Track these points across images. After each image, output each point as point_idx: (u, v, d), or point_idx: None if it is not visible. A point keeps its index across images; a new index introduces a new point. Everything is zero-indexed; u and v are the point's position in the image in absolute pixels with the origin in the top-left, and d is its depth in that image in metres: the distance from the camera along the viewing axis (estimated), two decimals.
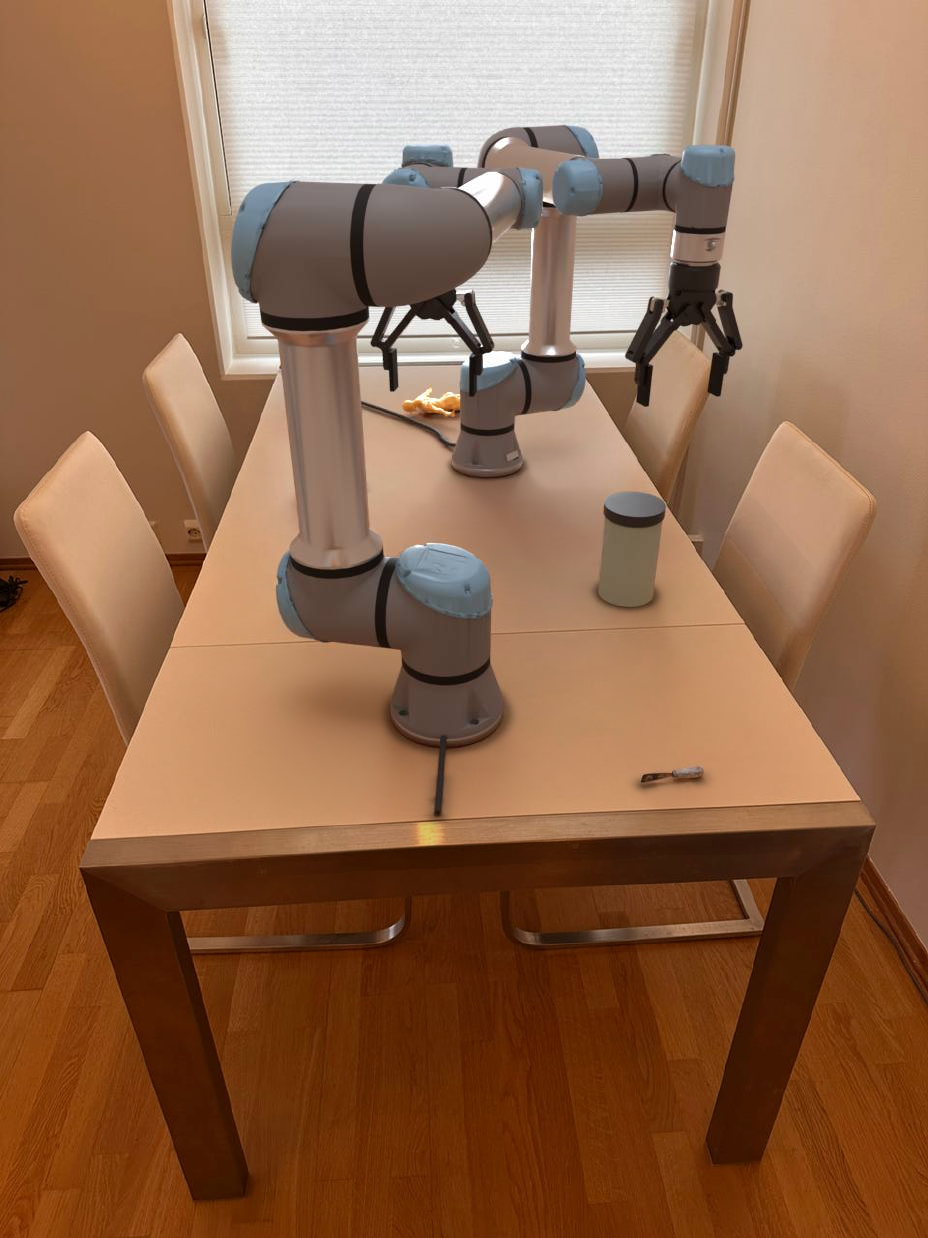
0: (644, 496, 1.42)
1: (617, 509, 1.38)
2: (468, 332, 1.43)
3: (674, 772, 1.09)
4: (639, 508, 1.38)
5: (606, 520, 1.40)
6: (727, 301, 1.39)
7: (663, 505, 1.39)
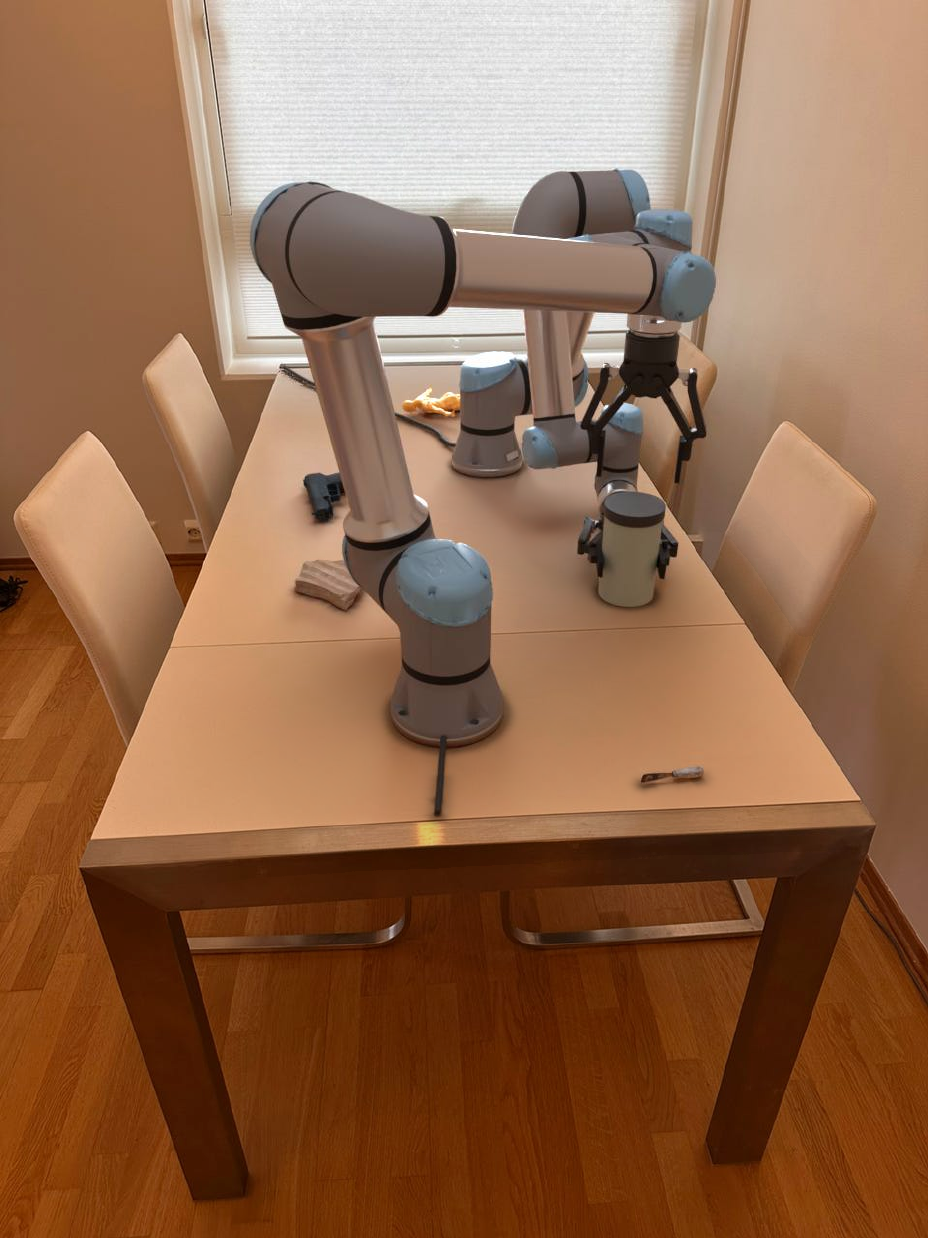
0: (644, 496, 1.42)
1: (617, 509, 1.38)
2: (607, 408, 1.33)
3: (674, 772, 1.09)
4: (639, 508, 1.38)
5: (606, 520, 1.40)
6: None
7: (663, 505, 1.39)
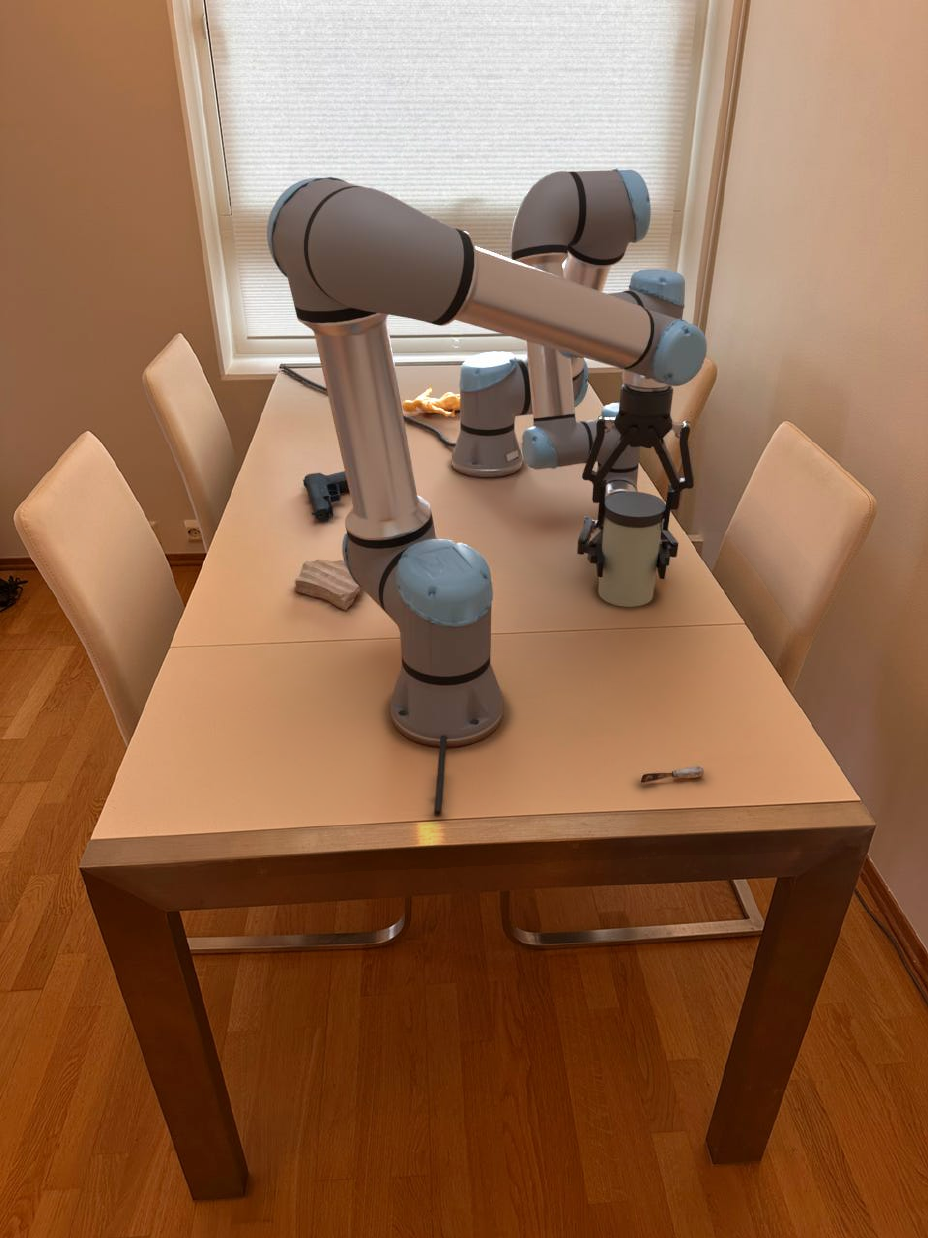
0: (644, 496, 1.42)
1: (617, 509, 1.38)
2: (606, 459, 1.37)
3: (674, 772, 1.09)
4: (639, 508, 1.38)
5: (606, 520, 1.40)
6: None
7: (663, 505, 1.39)
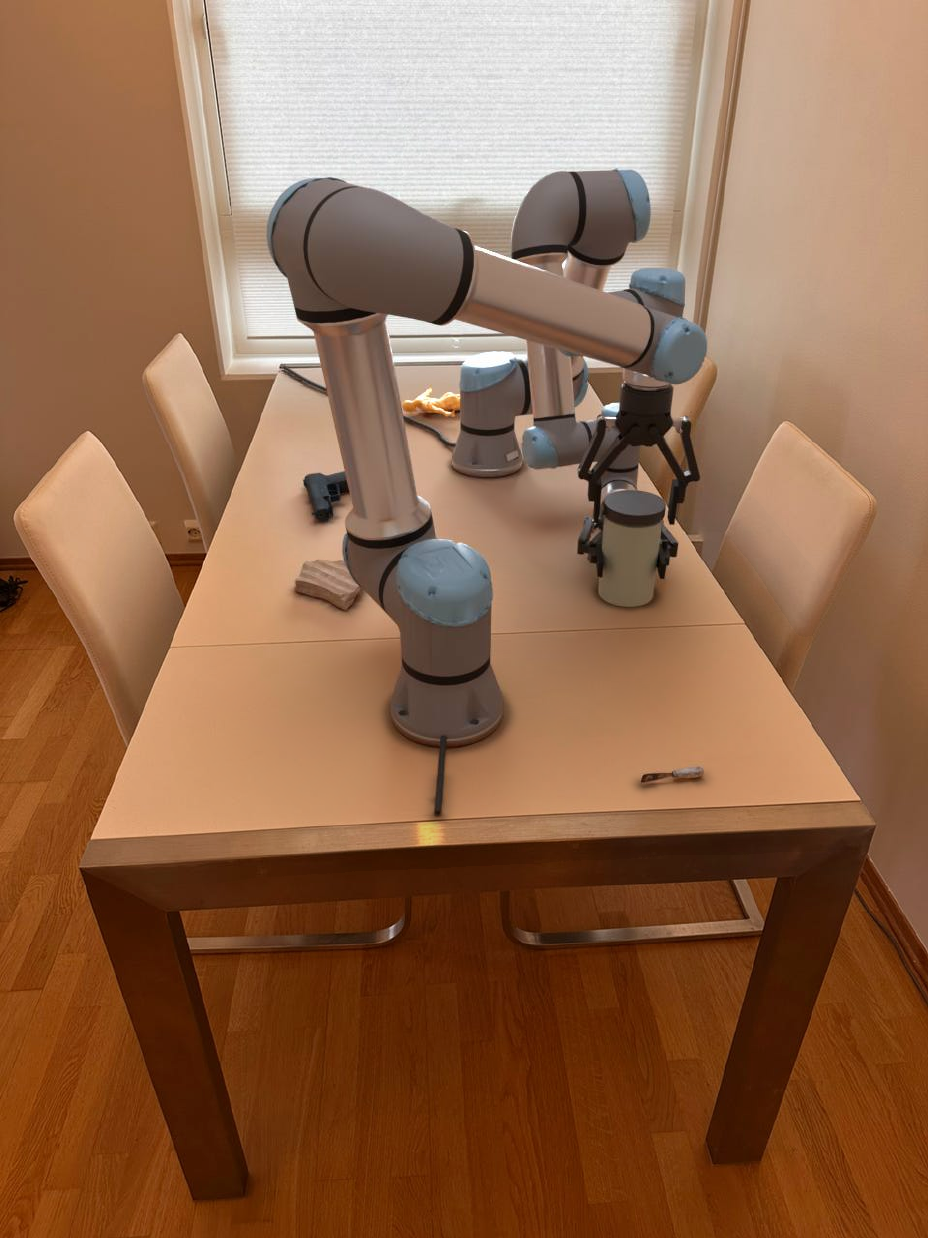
0: (615, 496, 1.41)
1: (650, 510, 1.37)
2: (603, 457, 1.36)
3: (674, 772, 1.09)
4: (645, 501, 1.40)
5: (606, 520, 1.40)
6: None
7: (635, 491, 1.43)
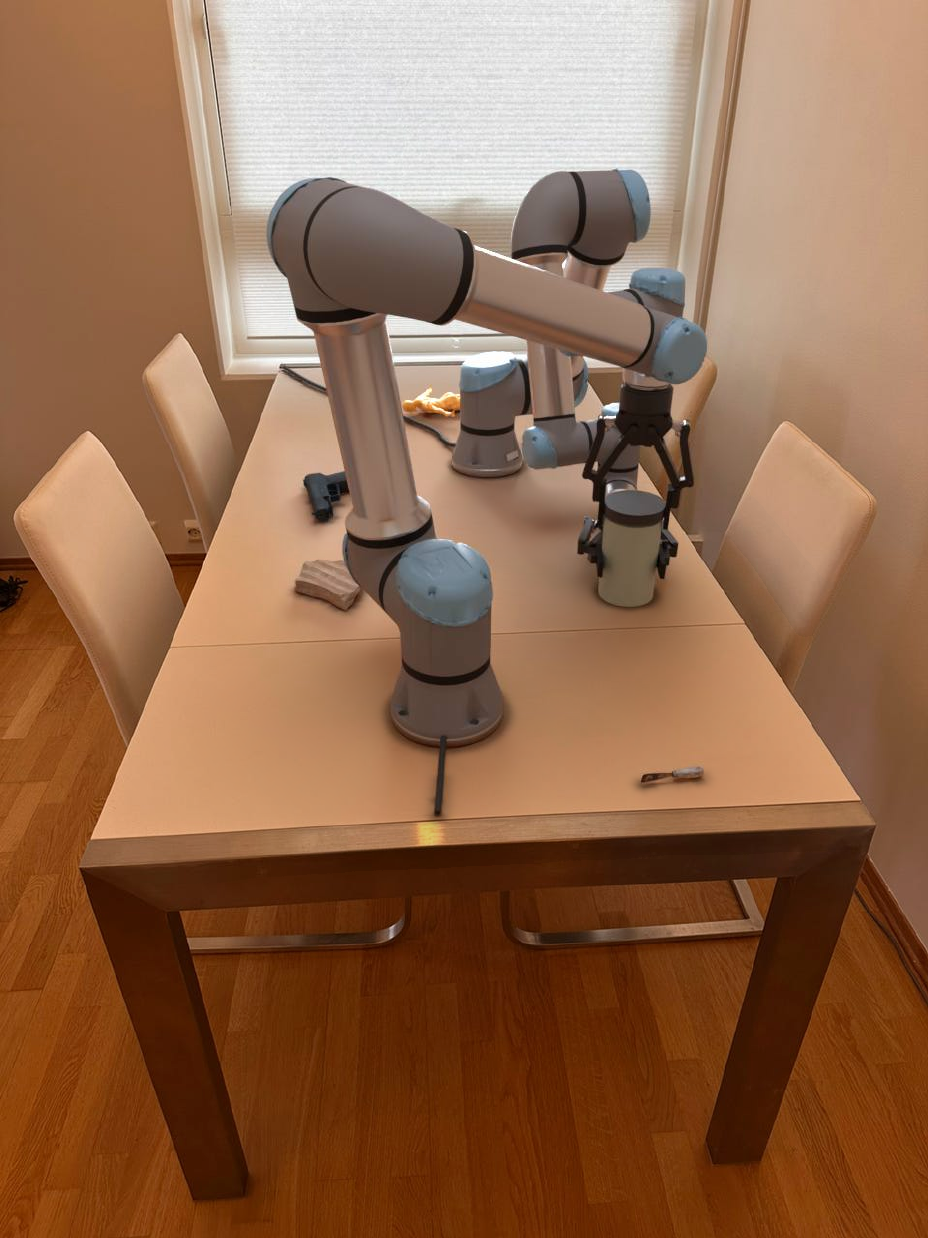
0: (615, 496, 1.41)
1: (650, 510, 1.37)
2: (606, 458, 1.37)
3: (674, 772, 1.09)
4: (645, 501, 1.40)
5: (606, 520, 1.40)
6: None
7: (635, 491, 1.43)
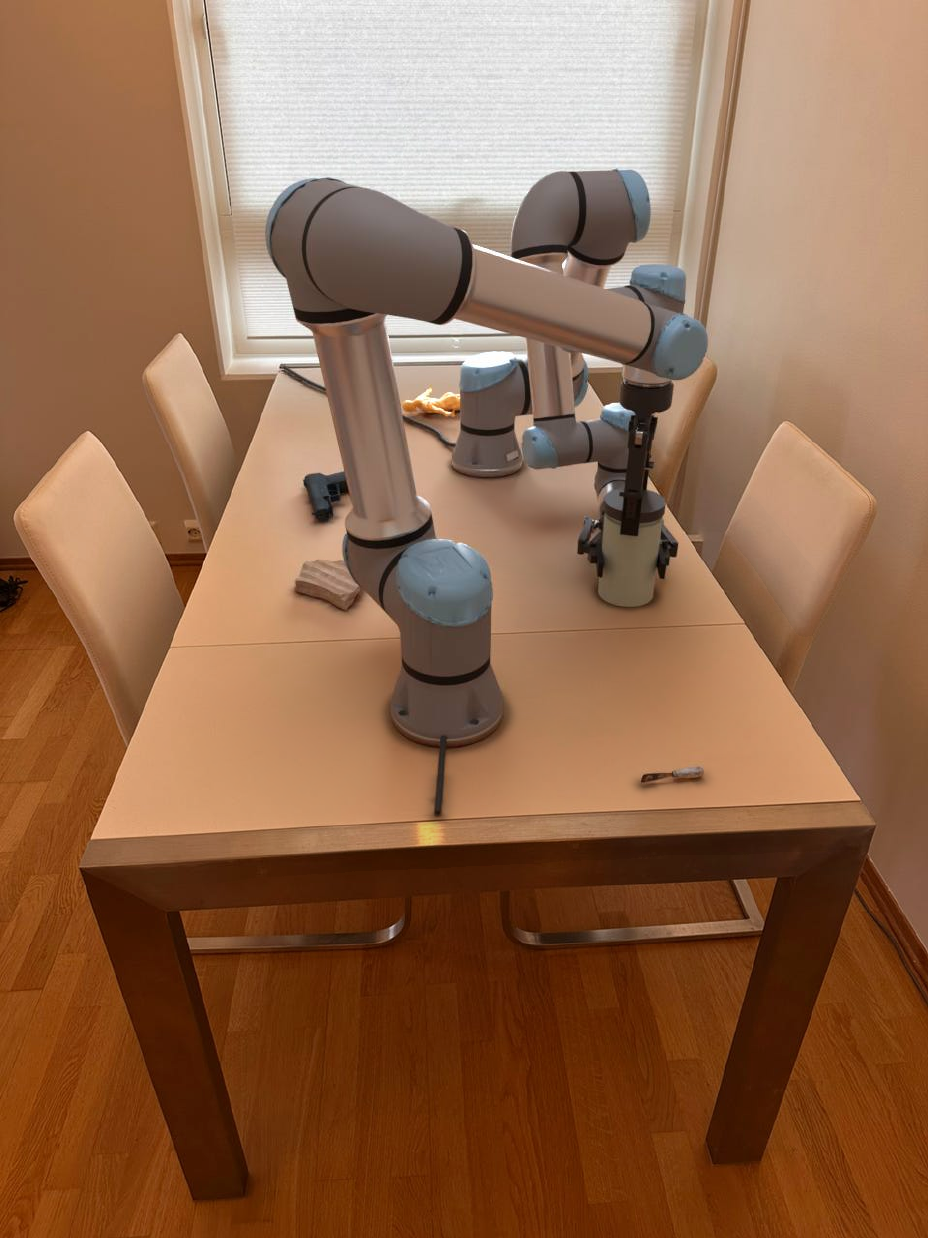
0: (622, 507, 1.37)
1: (653, 495, 1.40)
2: None
3: (674, 772, 1.09)
4: None
5: (606, 520, 1.40)
6: None
7: (606, 497, 1.40)
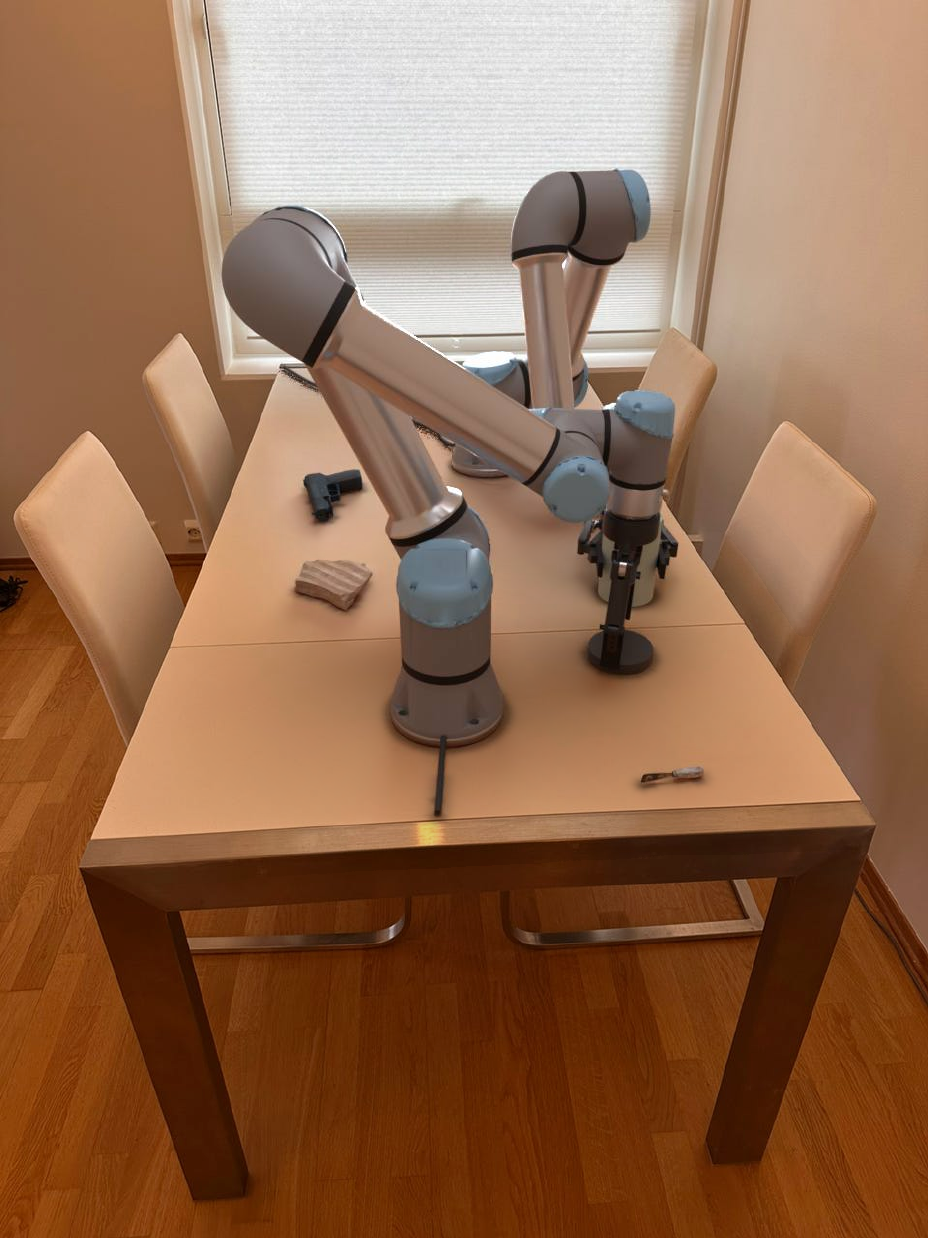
0: None
1: (640, 640, 1.33)
2: None
3: (674, 772, 1.09)
4: None
5: None
6: None
7: (591, 642, 1.32)
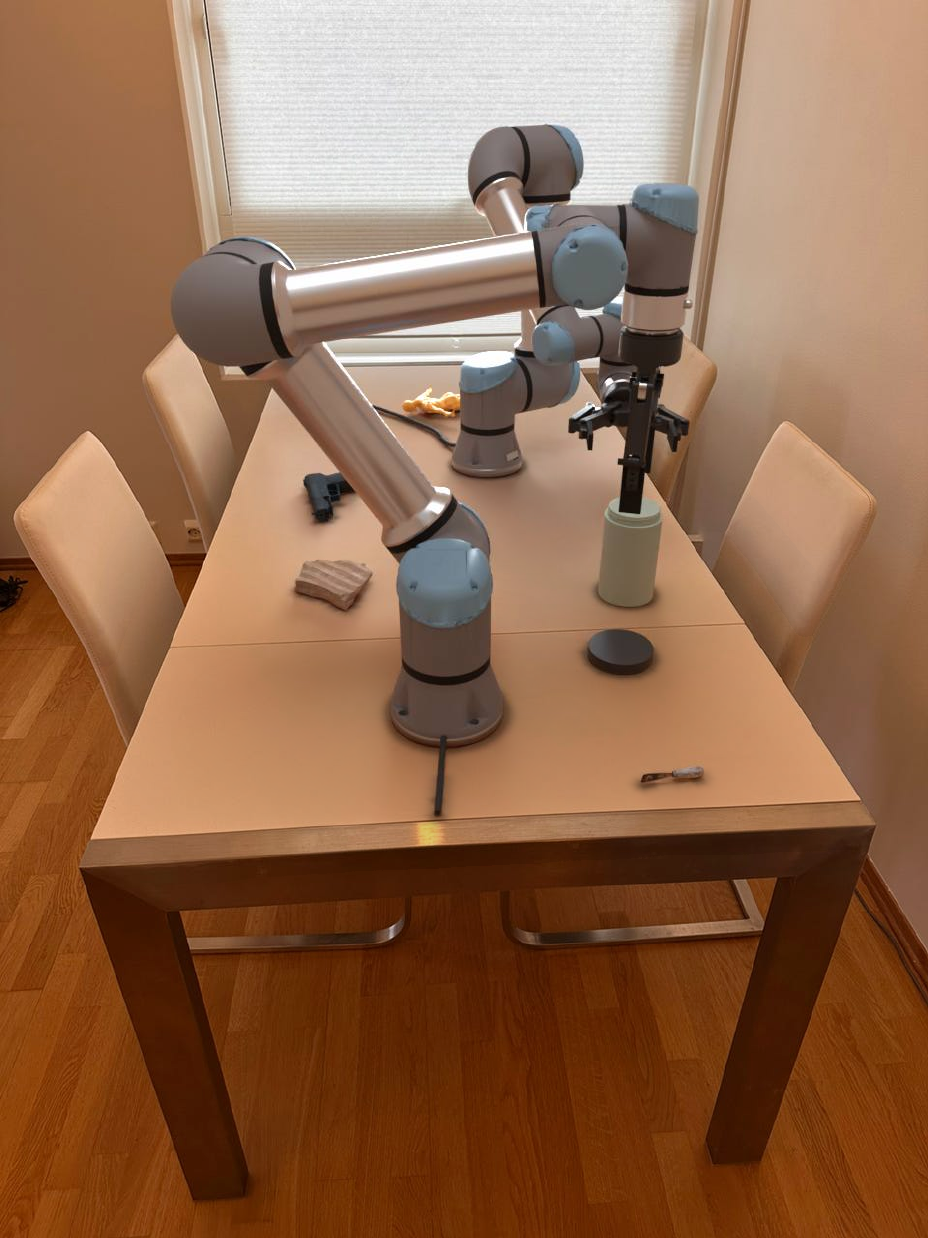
0: (608, 656, 1.29)
1: (640, 640, 1.33)
2: None
3: (674, 772, 1.09)
4: (617, 640, 1.33)
5: (606, 520, 1.40)
6: None
7: (591, 642, 1.32)
